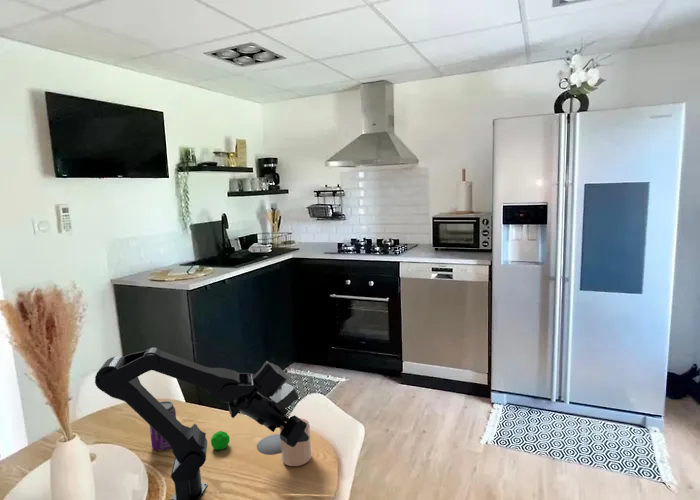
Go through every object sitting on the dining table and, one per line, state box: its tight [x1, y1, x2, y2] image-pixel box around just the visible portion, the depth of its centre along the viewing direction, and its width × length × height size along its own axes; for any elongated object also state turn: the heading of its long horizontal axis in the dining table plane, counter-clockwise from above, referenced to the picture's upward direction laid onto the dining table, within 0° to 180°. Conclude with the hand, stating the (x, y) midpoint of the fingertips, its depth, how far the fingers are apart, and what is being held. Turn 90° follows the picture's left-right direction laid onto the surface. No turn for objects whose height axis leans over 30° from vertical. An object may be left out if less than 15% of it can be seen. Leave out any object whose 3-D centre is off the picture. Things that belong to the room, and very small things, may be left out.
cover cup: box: [279, 417, 312, 467], centre depth 115 cm, size 7×7×9 cm
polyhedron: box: [210, 430, 231, 451], centre depth 123 cm, size 5×5×5 cm
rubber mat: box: [256, 433, 282, 456], centre depth 124 cm, size 10×10×1 cm
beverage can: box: [149, 400, 177, 451], centre depth 125 cm, size 7×7×12 cm
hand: (299, 433), depth 116 cm, fingers closed on cover cup, 8 cm apart
